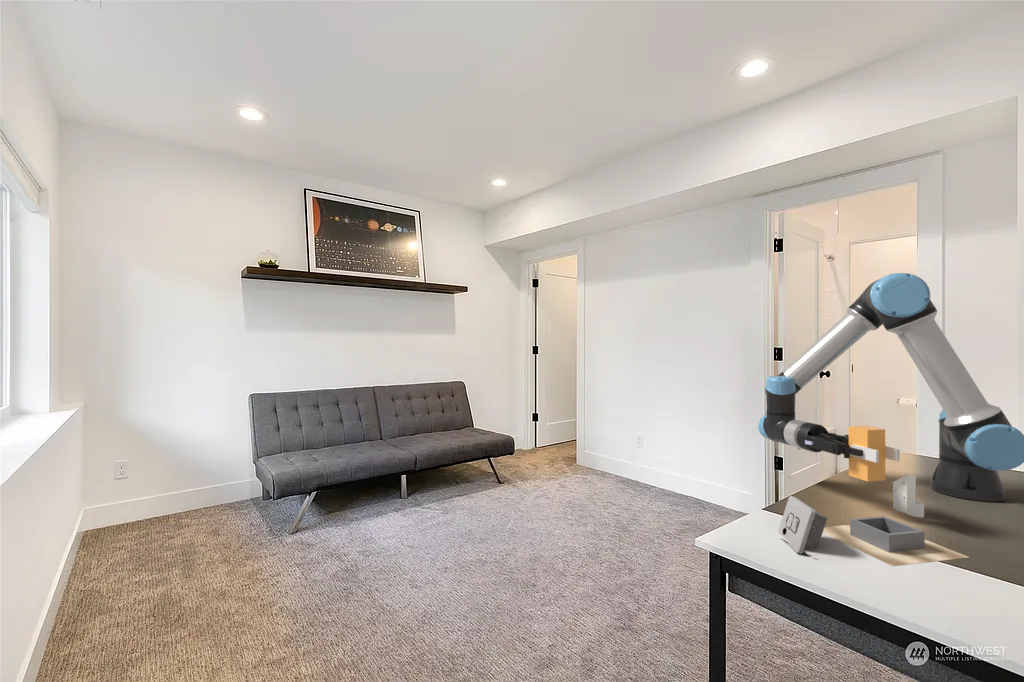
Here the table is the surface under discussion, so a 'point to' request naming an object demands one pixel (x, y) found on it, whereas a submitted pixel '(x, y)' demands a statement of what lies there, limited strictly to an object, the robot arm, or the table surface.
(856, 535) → the socket cup
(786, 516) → the electrical switch
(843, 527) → the mounting board
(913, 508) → the white wedge bracket
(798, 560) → the table surface
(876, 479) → the connector plug
